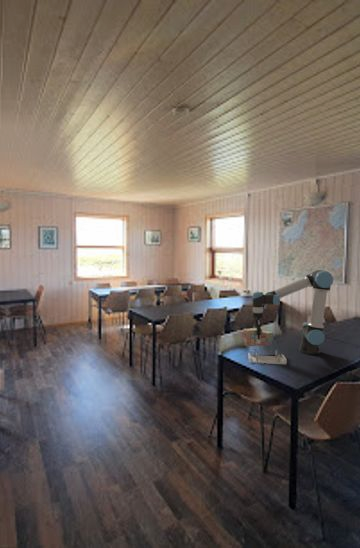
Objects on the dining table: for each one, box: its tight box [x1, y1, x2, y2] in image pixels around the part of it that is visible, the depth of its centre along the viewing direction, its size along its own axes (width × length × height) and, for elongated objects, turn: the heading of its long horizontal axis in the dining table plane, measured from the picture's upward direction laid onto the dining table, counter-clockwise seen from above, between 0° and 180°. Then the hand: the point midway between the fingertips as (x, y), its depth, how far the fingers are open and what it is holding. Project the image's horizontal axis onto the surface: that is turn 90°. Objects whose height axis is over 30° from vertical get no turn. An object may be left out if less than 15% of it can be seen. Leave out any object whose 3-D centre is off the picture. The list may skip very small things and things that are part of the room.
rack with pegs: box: [247, 348, 288, 365], centre depth 231 cm, size 25×13×6 cm, turn 84°
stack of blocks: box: [243, 327, 274, 348], centre depth 246 cm, size 21×6×12 cm, turn 101°
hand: (257, 341), depth 246 cm, fingers closed on stack of blocks, 7 cm apart
